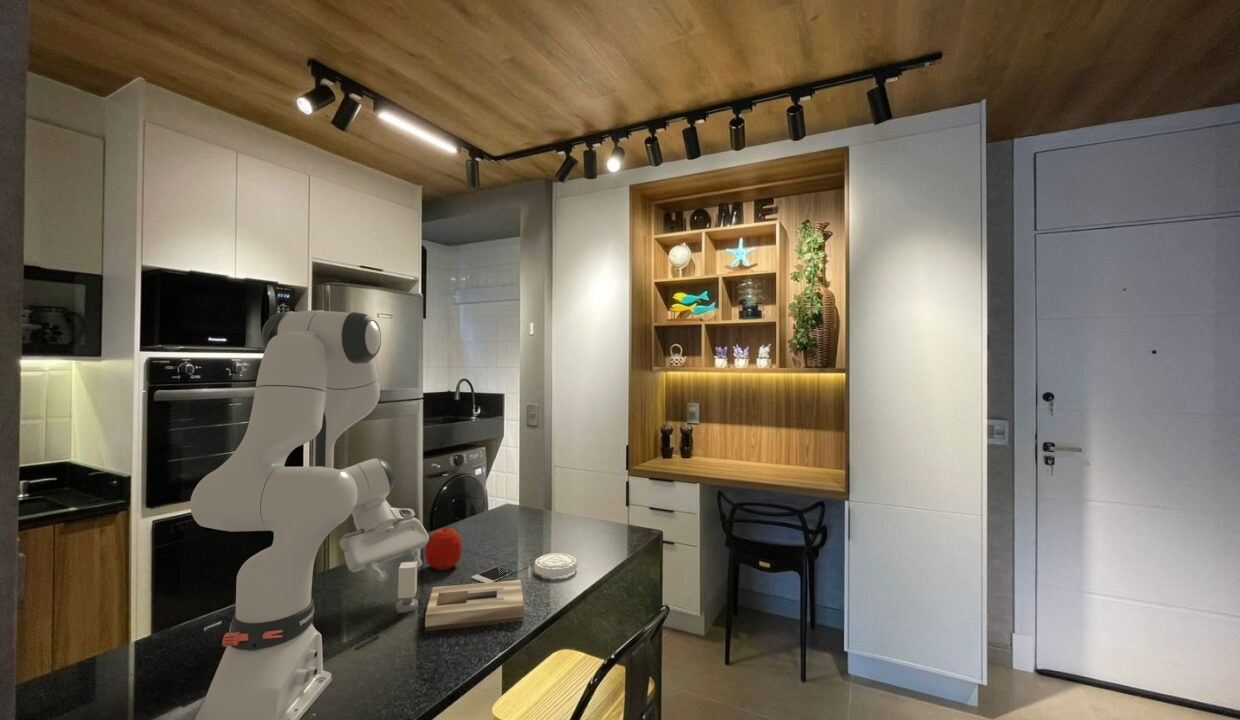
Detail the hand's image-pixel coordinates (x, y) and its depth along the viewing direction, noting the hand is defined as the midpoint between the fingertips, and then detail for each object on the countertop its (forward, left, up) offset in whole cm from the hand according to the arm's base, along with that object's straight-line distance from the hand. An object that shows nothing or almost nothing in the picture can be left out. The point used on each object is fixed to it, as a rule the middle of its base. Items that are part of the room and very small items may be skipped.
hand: (401, 572), depth 121 cm
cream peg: (-2, -2, -8) cm, 8 cm away
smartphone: (+15, -24, -8) cm, 29 cm away
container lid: (+13, -39, -8) cm, 42 cm away
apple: (+22, -8, -8) cm, 25 cm away
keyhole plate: (-7, -18, -8) cm, 20 cm away
